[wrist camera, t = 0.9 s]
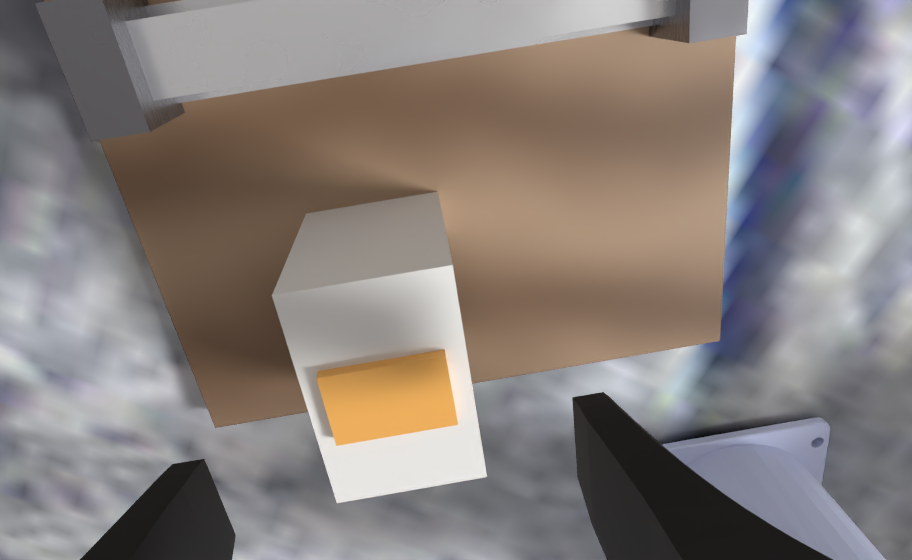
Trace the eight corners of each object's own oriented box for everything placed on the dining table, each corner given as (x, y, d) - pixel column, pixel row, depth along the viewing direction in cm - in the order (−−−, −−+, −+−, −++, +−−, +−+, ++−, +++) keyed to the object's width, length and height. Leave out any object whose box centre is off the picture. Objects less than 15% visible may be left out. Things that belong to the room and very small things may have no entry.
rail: (701, 27, 17) (750, 33, 15) (130, 121, 17) (86, 142, 14) (705, -97, 16) (760, -113, 13) (85, 2, 15) (30, 3, 13)
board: (707, 326, 22) (719, 340, 21) (223, 410, 22) (215, 428, 21) (733, -315, 15) (755, -336, 14) (-15, -200, 14) (-43, -212, 13)
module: (465, 362, 21) (488, 485, 16) (351, 382, 21) (335, 512, 16) (437, 191, 18) (454, 270, 13) (306, 213, 18) (269, 302, 13)
